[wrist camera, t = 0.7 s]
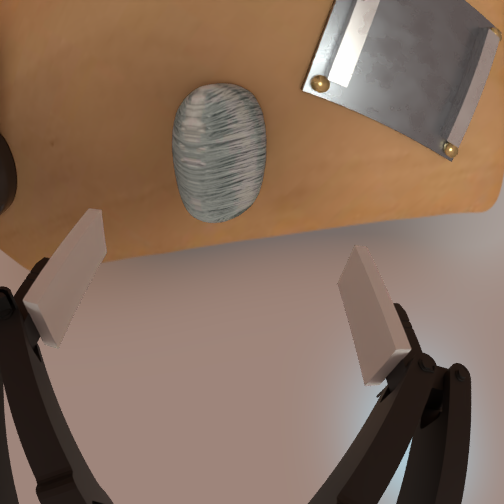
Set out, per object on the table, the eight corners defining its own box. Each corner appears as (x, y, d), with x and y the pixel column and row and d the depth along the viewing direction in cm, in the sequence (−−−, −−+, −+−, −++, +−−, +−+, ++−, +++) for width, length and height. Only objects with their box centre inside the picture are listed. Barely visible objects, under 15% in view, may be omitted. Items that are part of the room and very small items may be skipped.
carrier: (300, 89, 27) (305, 92, 25) (356, -60, 16) (365, -68, 13) (446, 158, 30) (459, 167, 28) (495, 32, 19) (510, 34, 16)
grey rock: (273, 222, 33) (225, 247, 24) (201, 202, 36) (142, 218, 28) (295, 97, 28) (252, 74, 19) (216, 90, 31) (157, 75, 23)
